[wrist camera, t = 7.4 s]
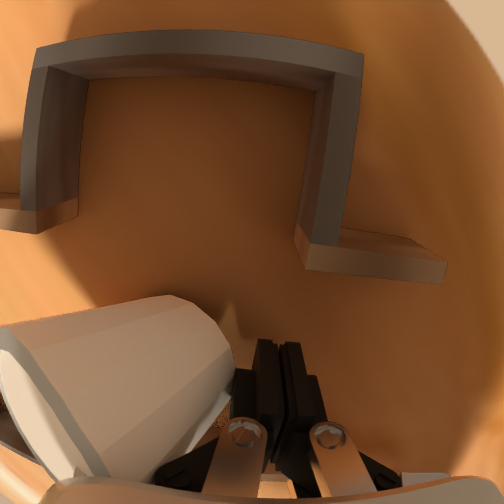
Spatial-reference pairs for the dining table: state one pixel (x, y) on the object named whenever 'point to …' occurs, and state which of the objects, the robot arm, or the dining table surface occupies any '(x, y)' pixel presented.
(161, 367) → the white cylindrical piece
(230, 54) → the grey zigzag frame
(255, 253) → the dining table surface
